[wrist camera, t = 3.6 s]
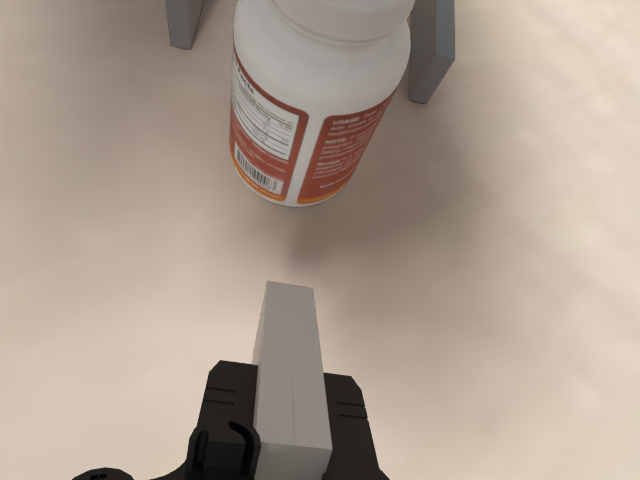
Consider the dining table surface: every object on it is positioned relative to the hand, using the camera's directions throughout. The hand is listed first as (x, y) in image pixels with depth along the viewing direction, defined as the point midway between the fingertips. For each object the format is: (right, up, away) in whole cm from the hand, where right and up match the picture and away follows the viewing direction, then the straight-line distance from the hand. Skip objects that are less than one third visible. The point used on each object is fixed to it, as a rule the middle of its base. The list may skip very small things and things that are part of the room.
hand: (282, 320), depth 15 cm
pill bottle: (0, +7, +8) cm, 11 cm away
